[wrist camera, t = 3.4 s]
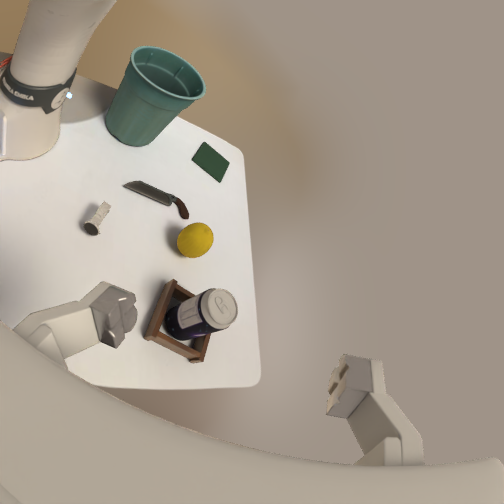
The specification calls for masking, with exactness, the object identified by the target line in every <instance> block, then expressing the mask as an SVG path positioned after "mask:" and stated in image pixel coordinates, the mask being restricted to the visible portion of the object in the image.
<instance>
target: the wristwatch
mask: <svg viewBox="0 0 504 504" xmlns="http://www.w3.org/2000/svg"><path fill="white" fill-rule="evenodd" d="M110 208H111V206H110V205H109V204H107V203H106V202H105V201H104V202H103V203H102V205H101V206H100V207H99V209H98V210H97V212H96V213H95V215H94V216H93V218H92V219H91V220H90V221H86V222H85V223H84V228H85V230H86V231H87V232H88V233H89V234H91V235H93V236H96V235H98V234H100V233H99V228H98V227H99V225H100V223H101V222H102V220H103V219H104V217H105V216H106V214H107V213H108V212H109V209H110ZM91 221H92V222H91Z"/></svg>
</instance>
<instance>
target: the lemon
mask: <svg viewBox="0 0 504 504" xmlns="http://www.w3.org/2000/svg"><path fill="white" fill-rule="evenodd" d="M212 243H213V233H212V231H211V229H210V228H209V227H208V226H207V225H205V224H203V223H193V224H190V225H188V226H187V227H185V228H184V229H183V230H182V231H181V232H180V234H179V236H178V239H177V246H178V249H179V251H180V252H181V253H182V254H183V255H184V256H186V257H189V258H196V257H200V256H202V255H203V254H205V253H206V252H207V251H208V250H209V249H210V247H211V246H212Z"/></svg>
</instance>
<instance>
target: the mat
mask: <svg viewBox="0 0 504 504" xmlns="http://www.w3.org/2000/svg"><path fill="white" fill-rule="evenodd" d="M192 161H194V162H195V163H196V164H197V165H199V166H200V167H201V168H202V169H203V170H205V171H206V172H207V173H208V174H210V175H211V176H212V177H213V178H214V179H216V180H217V181H218V182H219V183H220V182H221V181H222V178H223V176H224V174H225V172H226V170H227V168H228V166H229V162H228V161H227V160H226V159H225V158H224V157H222V156H221V155H220V154H219V153H218V152H216V151H215V150H214V149H213V148H212V147H210V146H209V145H208V144H207V143H206V142H204V143H203V144H202V146H201V147H200V149H199V150H198V152H197V153H196V155H195V156H194V158H193V159H192Z"/></svg>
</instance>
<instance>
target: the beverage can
mask: <svg viewBox="0 0 504 504" xmlns="http://www.w3.org/2000/svg"><path fill="white" fill-rule="evenodd" d="M237 314H238V307H237V303H236V300H235V299H234V297H233V296H232V294H231V293H229V292H228V291H227V290H224V289H208V290H206V291H204V292H202V293H200V294H198V295H196V296H194V297H192V298H190V299H188V300H186V301H184V302H182V303H180V304H178V305H176V306H174V307H172V308H171V309H170V310H169V311H168V312H167V314H166V318H165V324H166V328H167V330H168V332H169V333H170V334H171V336H173V337H174V338H175V339H177V340H181V341H185V340H189V339H192V338H196V337H200V336H203V335H207V334H210V333H213V332H217V331H220V330H224V329H226V328H228V327H229V326H230V325H231V324H232V323H233V322H234V321H235V320H236V318H237Z"/></svg>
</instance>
